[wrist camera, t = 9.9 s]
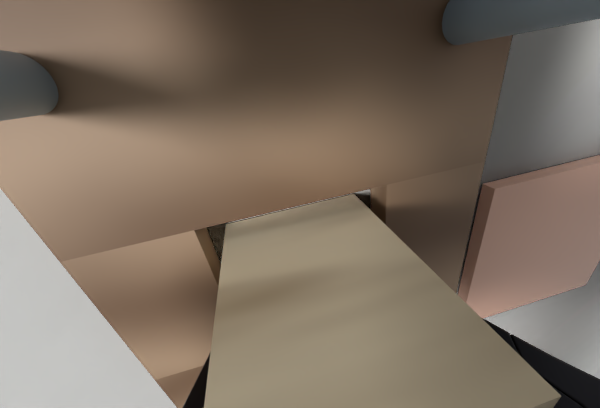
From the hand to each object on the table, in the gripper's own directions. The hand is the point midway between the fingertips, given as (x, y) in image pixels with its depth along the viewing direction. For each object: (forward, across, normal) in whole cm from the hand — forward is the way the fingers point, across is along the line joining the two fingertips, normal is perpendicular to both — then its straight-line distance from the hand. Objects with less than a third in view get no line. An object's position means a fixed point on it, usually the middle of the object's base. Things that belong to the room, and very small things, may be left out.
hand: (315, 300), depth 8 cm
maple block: (+2, 0, 0) cm, 2 cm away
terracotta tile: (+2, -13, +3) cm, 14 cm away
